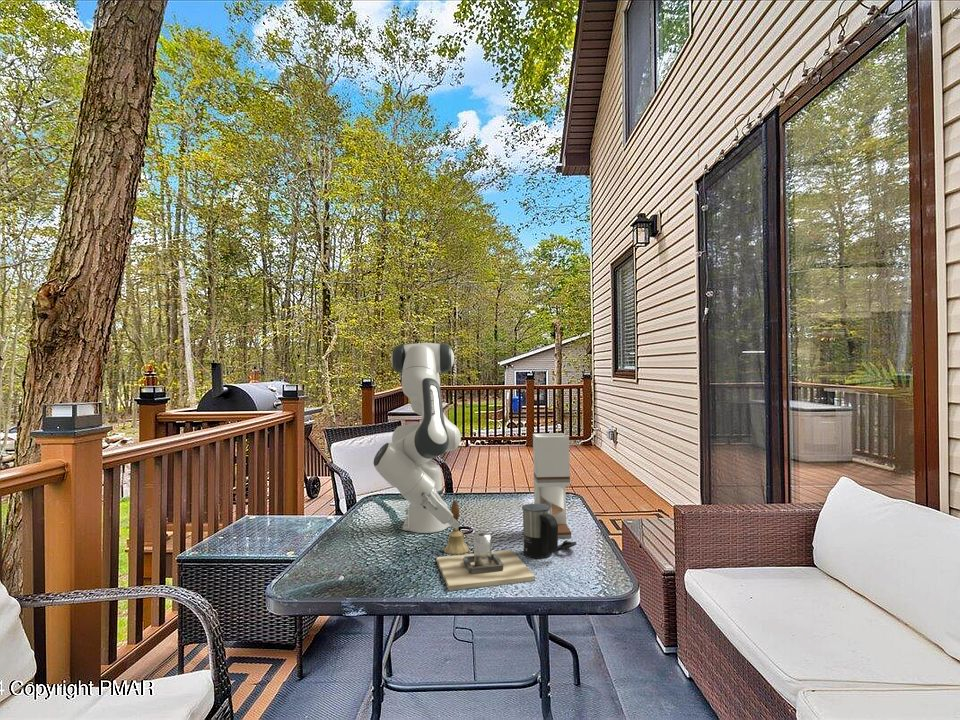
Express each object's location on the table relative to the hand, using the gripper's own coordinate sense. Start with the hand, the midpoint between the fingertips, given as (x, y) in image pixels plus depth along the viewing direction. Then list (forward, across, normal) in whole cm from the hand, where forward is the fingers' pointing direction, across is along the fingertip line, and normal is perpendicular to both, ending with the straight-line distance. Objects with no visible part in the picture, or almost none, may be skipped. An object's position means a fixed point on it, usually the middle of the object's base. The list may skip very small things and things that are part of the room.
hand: (454, 521), depth 143 cm
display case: (+39, +26, -18) cm, 50 cm away
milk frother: (+33, +8, -12) cm, 36 cm away
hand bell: (+13, +19, +8) cm, 24 cm away
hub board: (+16, 0, +5) cm, 17 cm away
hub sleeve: (+15, 0, +4) cm, 16 cm away
